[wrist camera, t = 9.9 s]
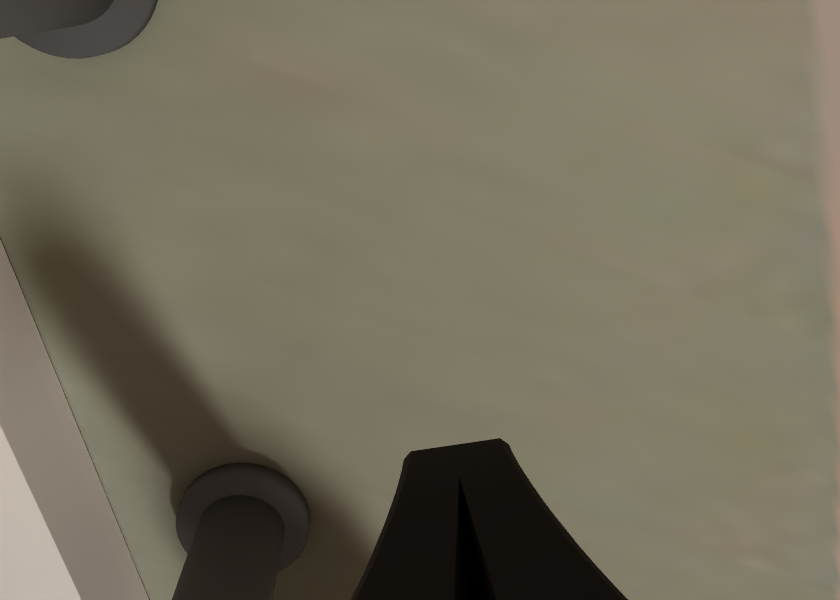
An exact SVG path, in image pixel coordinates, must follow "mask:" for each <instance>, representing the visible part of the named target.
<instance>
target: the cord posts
mask: <svg viewBox="0 0 840 600" xmlns="http://www.w3.org/2000/svg"><path fill="white" fill-rule="evenodd" d="M157 1H158V0H0V39H1V38H6V37H12V36H15V37H16V38H17V39H19V40H20V41H22V42H23V43H25V44H27V45H29V46H30V47H32V48H35V49H37V50H39V51H41V52H44V53H47V54H50V55H54V56H59V57H64V58H89V57H94V56H98V55H102V54H105V53H109V52H112V51H114V50H117V49H119V48H121V47H123V46H124V45H126V44H128V43H129V42H131V41H132V40H133V39H134V38H135V37H137V36H138V35H139V33H140V32H141V31H142V30H143V29H144V28H145V26H146V25H147V23H148V22H149V20H150V19H151V17H152V14H153V12H154V10H155V7H156V4H157ZM308 526H309V509H308V505H307V502H306V499H305V498H304V496H303V494H302V493H301V491H300V490H299V488H298V487H297V486H296V485H295V484H294V483H293V482H292V481H290V480H289V479H288V478H287V477H285V476H283V475H282V474H280V473H278V472H276V471H274V470H272V469H269V468H266V467H263V466H258V465H253V464H229V465H224V466H220V467H217V468H214V469H212V470H209V471H207V472H205V473H204V474H202V475H201V476H199V477H198V478H197V479H196V480H195V481H194V482H193V483H192V484H191V485H190V486H189V488H188V489H187V491H186V492H185V495H184V497H183V500H182V502H181V505H180V507H179V510H178V513H177V517H176V530H177V534H178V538H179V540H180V542H181V544H182V546H183V548H184V549H185V551H186V552H187V553H188V555H187V558H186V561H185V564H184V567H183V569H182V572H181V575H180V578H179V581H178V584H177V587H176V590H175V592H174V595H173V598H172V600H272V597H273V592H274V587H275V582H276V576H277V571H280V570H282V569H283V568H285V567H287V566H288V565H289V564H291V563H292V562H293V561H294V560H295V559H296V558H297V557H298V556H299V554H300V553H301V551H302V550H303V548H304V546H305V543H306V540H307V533H308Z"/></svg>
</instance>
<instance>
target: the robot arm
mask: <svg viewBox="0 0 840 600" xmlns="http://www.w3.org/2000/svg"><path fill="white" fill-rule="evenodd" d="M351 600H628V599H627V598H626V597H625V596H624V595H623V594H622V593H621V592H620V591H619V590H618V589H617V588H616V587H615V586H614V585H613V583H612V582H611V581H610V580H609V579H608V578H607V577H606V576H605V575H604V574H603V573H602V572H601V570H600V569H599V568H598V567H597V566H596V565H595V564H594V563H593V562H592V560H591V559H590V558H589V557H588V556H587V555H586V553H585V552H584V551H583V550H582V549H581V548H580V547H579V545H578V544H577V543H576V542H575V540H574V539H573V538H572V537H571V535H570V534H569V533H568V532H567V530H566V529H565V528H564V527H563V526H562V524H561V523H560V522H559V521H558V519H557V518H556V517H555V516H554V514H553V513H552V512H551V510H550V509H549V508H548V506H547V505H546V504H545V502H544V501H543V500H542V498H541V497H540V495H539V494H538V493H537V491H536V490H535V488H534V487H533V485H532V484H531V482H530V481H529V479H528V478H527V476H526V475H525V473H524V472H523V470H522V468H521V467H520V465H519V464H518V462H517V460H516V458H515V456H514V455H513V453H512V451H511V449H510V446H509V444H507V443H506V442H504V441H503V440H502V439H500V438H499V439H492V440H485V441H478V442H472V443H465V444H458V445H451V446H444V447H438V448H431V449H424V450H417V451H411V452H410V453H409V454H408V455H407V457H406V458H405V459H404V462H403V467H402V472H401V476H400V479H399V483H398V486H397V490H396V493H395V496H394V499H393V502H392V505H391V508H390V510H389V513H388V516H387V519H386V522H385V524H384V527H383V529H382V532H381V534H380V536H379V539H378V541H377V544H376V546H375V548H374V551H373V553H372V556H371V558H370V561H369V563H368V565H367V568H366V570H365V572H364V574H363V576H362V578H361V580H360V582H359V585H358V587H357V589H356V591H355V593H354V595H353V597H352V599H351Z"/></svg>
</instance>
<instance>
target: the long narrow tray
mask: <svg viewBox="0 0 840 600" xmlns="http://www.w3.org/2000/svg"><path fill="white" fill-rule="evenodd" d="M0 600H149V598H148V596H147V594H146V591H145V589H144V586H143V584H142V581H141V579H140V577H139V574H138V572H137V569H136V567H135V564H134V562H133V560H132V557H131V555H130V552H129V550H128V548H127V545H126V543H125V540H124V538H123V535H122V533H121V531H120V528H119V526H118V523H117V521H116V518H115V516H114V514H113V511H112V509H111V506H110V504H109V501H108V499H107V497H106V494H105V492H104V489H103V487H102V484H101V482H100V480H99V477H98V475H97V472H96V470H95V467H94V465H93V463H92V460H91V458H90V455H89V453H88V451H87V448H86V446H85V443H84V441H83V438H82V436H81V434H80V431H79V429H78V426H77V424H76V421H75V419H74V417H73V414H72V412H71V409H70V407H69V404H68V402H67V400H66V397H65V395H64V392H63V390H62V387H61V385H60V383H59V380H58V378H57V375H56V373H55V370H54V368H53V366H52V363H51V361H50V358H49V356H48V354H47V351H46V349H45V346H44V344H43V341H42V339H41V337H40V334H39V332H38V329H37V327H36V324H35V322H34V320H33V317H32V315H31V312H30V310H29V307H28V305H27V303H26V300H25V298H24V295H23V293H22V290H21V288H20V286H19V283H18V281H17V278H16V276H15V273H14V271H13V269H12V266H11V264H10V261H9V259H8V257H7V254H6V252H5V249H4V247H3V244H2V242H1V240H0Z"/></svg>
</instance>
